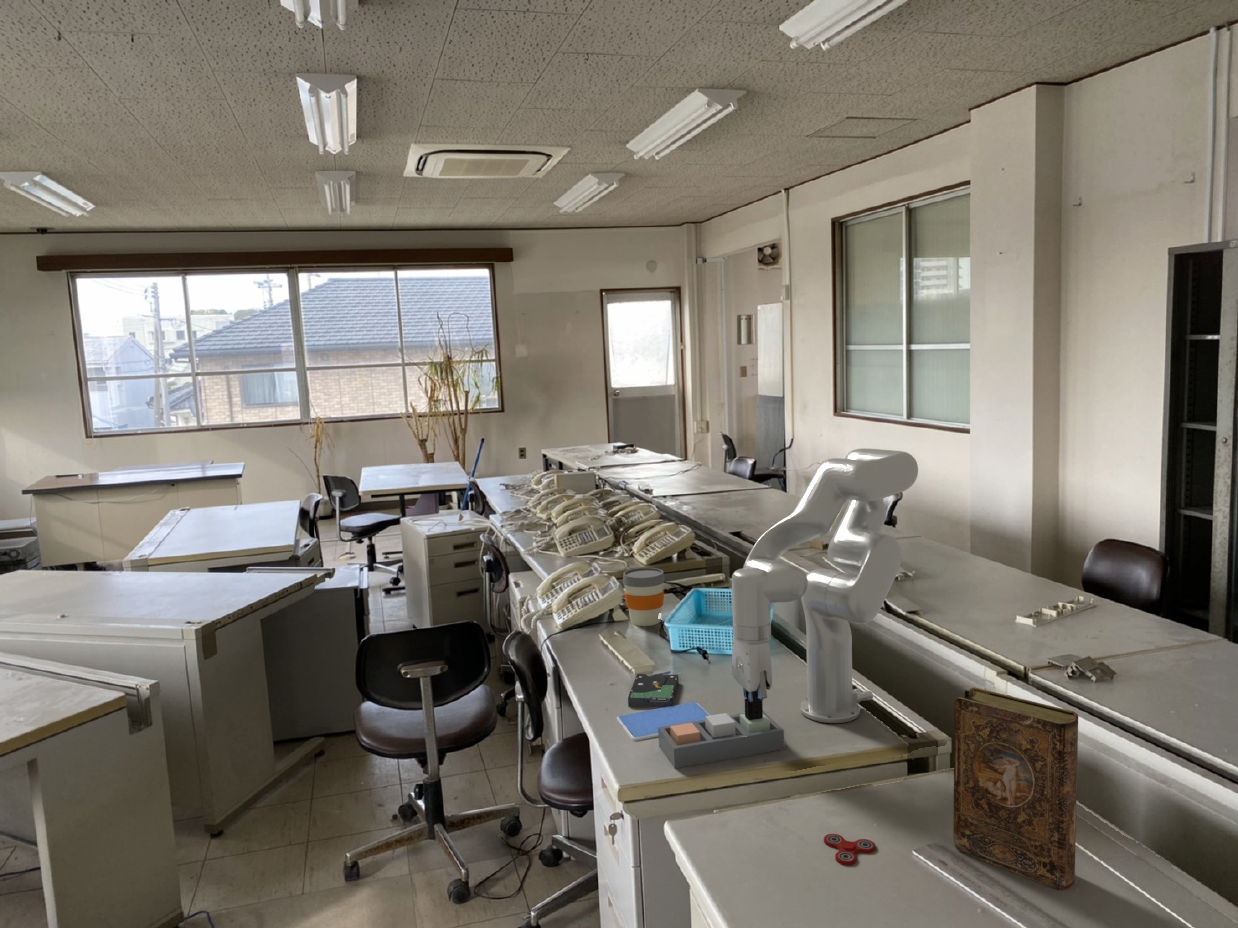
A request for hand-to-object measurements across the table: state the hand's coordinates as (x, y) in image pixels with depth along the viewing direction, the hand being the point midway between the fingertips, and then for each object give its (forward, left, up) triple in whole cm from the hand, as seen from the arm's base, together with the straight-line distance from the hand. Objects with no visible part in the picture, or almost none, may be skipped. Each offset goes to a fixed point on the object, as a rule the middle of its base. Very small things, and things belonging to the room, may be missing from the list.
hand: (753, 717), depth 170 cm
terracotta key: (+15, 0, -2) cm, 15 cm away
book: (-20, +50, -5) cm, 55 cm away
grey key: (+7, 0, -2) cm, 8 cm away
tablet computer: (+14, -16, -6) cm, 22 cm away
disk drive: (+12, -31, -6) cm, 34 cm away
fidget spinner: (+1, +39, -6) cm, 40 cm away
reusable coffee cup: (-2, -85, -5) cm, 85 cm away
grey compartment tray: (+7, 0, -5) cm, 9 cm away
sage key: (0, 0, -3) cm, 3 cm away
